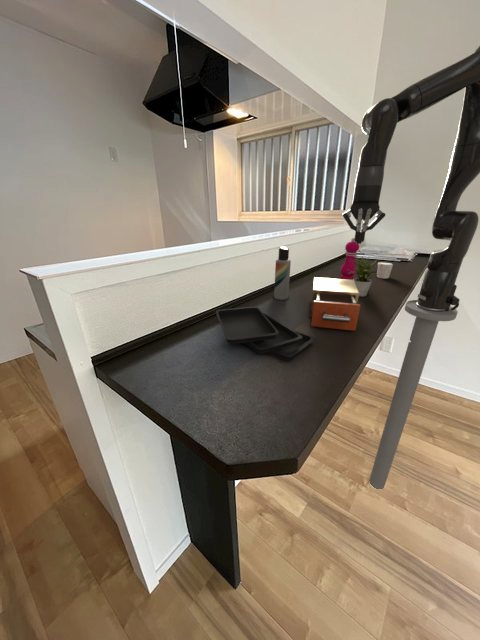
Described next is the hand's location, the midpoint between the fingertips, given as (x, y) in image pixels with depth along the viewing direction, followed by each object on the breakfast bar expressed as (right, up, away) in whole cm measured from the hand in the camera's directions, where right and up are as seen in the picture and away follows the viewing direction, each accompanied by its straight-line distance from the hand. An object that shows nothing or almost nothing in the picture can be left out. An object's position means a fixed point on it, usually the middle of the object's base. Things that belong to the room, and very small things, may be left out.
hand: (358, 243), depth 87 cm
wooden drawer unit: (-10, -26, -4) cm, 28 cm away
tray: (-35, -31, -13) cm, 48 cm away
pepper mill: (+14, -6, +44) cm, 46 cm away
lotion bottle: (-23, -16, +20) cm, 34 cm away
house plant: (+10, -14, +24) cm, 30 cm away
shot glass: (+34, -3, +48) cm, 59 cm away
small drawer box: (-7, -22, +7) cm, 24 cm away
